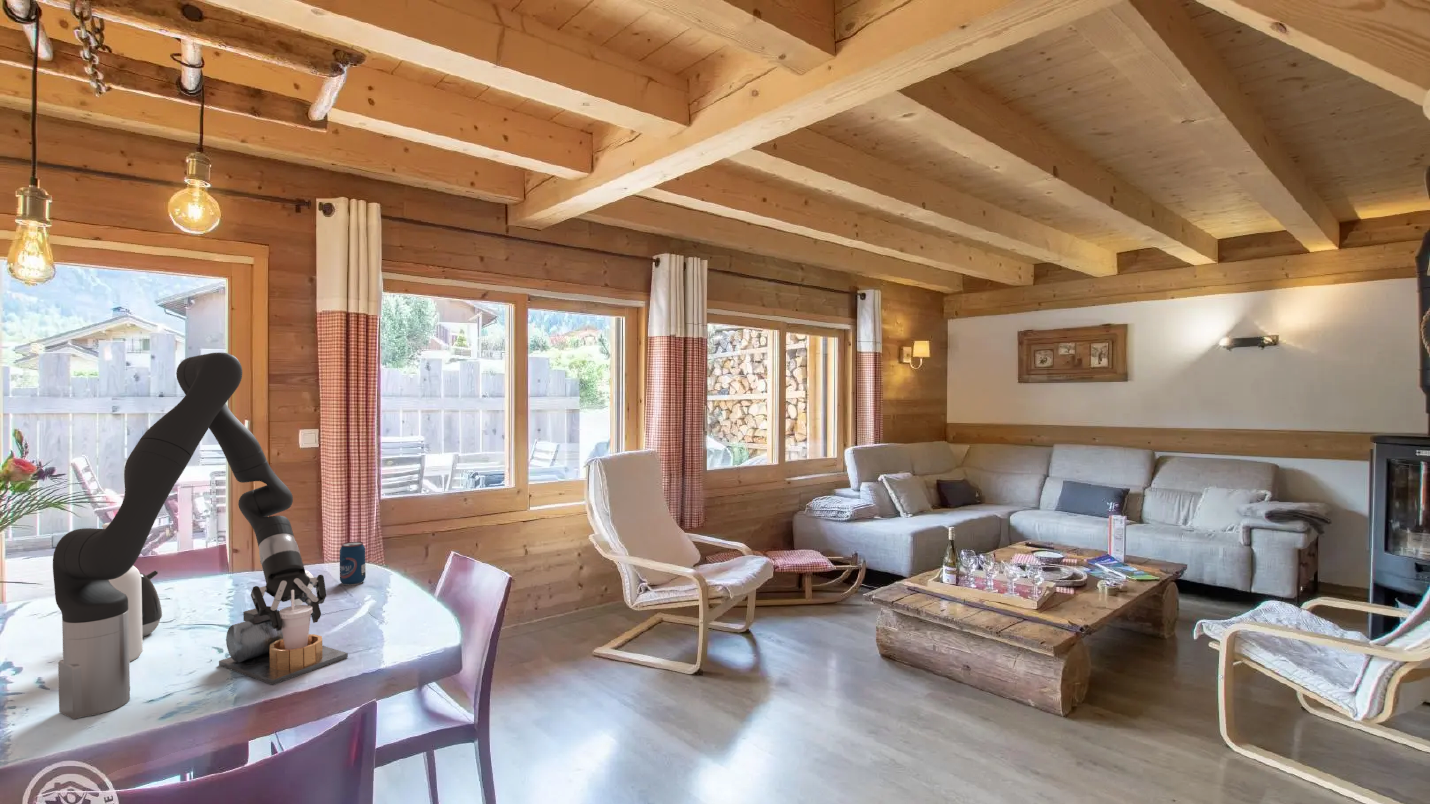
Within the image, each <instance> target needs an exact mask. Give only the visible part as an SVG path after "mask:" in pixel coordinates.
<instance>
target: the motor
mask: <svg viewBox="0 0 1430 804" xmlns="http://www.w3.org/2000/svg"><path fill="white" fill-rule="evenodd" d="M242 615H243V621H242V622H238V623H235V624H232V625H230V626H229V627H228V629H227V632H226V636H225V638H226V640H225V641H226V649H227V652H228V654H229V657H226V658H224V659H223V658H222V659H221V660H219V661H218V667H221V668H225V669H228V670H230V671H233V672H236V673H238V674H241V675H244V676H247V677H251V678H253V679H255V680H259V681H261V682H264V683H267V684H270V685H272V686H273V685H276V684H279V683H283V682H284V681H288V680H290V679H293V678H295V677H298V676H301V675H304V674H306V672H307V673H309V671H310V672H311V670H312V671H314V670H317V669H320V668H323V667H326V666H328V665H327V664H329V665H331V664H335V663H337V662H339V661H341V660H344V659H347V657H348V658H349V655H348V654H349V653H348V652H346V651H341V650H339V649H335V648H332V647H329V646H325V645H323V636H322V635H319V634H315V633H313V634H312V633H311V634H310V633H309V635H308V643H307V646H305V647H302V648H296V649H285V645H284V639H283V633H282V629H281V630H279V631H277V630H276V629H273V627H272V624H271V620H270V617H269V616H268V615H263V616H259V615H258V613H257V610H256V608H252V609H248V610H245V611H243V613H242ZM330 663H331V664H330ZM325 665H326V666H325Z"/></svg>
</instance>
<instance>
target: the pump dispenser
mask: <svg viewBox="0 0 1430 804" xmlns="http://www.w3.org/2000/svg"><path fill="white" fill-rule="evenodd" d="M158 574H159V572H158V571H157V570H154V571H152V572H150V573H148V574H145V573H142V572H140V575H141V582H142V638H144V637H146V636H148V635H150V634H151V633H153V632H154V631H155V630H156V629H157V627H158V626H159V623H160V621H161V619H162V617H163V612H162V605H161V601H160V597H159V595H158V591H157V590H156V588H155V585H154V583H153V582H152V580H151V579H153V578H154V577H156V576H157V575H158Z"/></svg>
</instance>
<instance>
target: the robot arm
mask: <svg viewBox="0 0 1430 804" xmlns="http://www.w3.org/2000/svg"><path fill="white" fill-rule="evenodd" d="M175 375H176V380H177V383H178V385H179V387H180V389H181V390H182V392H183V394H185V395H184V396H183V398H182V399H181V400H180V401H179V402H178V403H177V404H176V405H175V406H174V407H173V408H172V409H170V410H169V411H168V412H167V413H165V414H164V415H163V416H162V417H160V418H159V419H158V420H157V421H156V422H155V423H154V424H152V425H151V426H150V427H149V428H148V429H147V430H146V431H145V432H144V434H143V435H142V436H141V438H139V440H138V441H137V443H136V444H135V447H134V448H133V449H132V450H131V452H130V455H129V456H128V457H127V459H126V460H125V461H126V462H125V465H124V470H123V472H124V473H123V478H124V479H123V481H124V482H123V483H124V496H123V500H122V503H121V505H120V507H119V509H118V510H117V512H116V514H115V515H114V517H113V518H112V520H111V521H110V522H111V523H110V524H109V525H108V527H107V528H106V529H103V528H94V527H93V528H92V527H87V528H86V527H85V528H84V527H83V528H77V529H74V530H71V531H68V532H67V533H65V534H64V535H63V536H62V537H61V538H60V540H59V541H58V542H57V544H56V546H55V548H54V552H53V554H52V555H53V556H52V575H53V586H54V587H53V588H54V596H55V597H54V598H55V602H56V605H57V607H58V609H59V611H60V612H61V620H62V621H61V622H62V623H61V624H62V627H61V628H62V659H60V660H59V661H58V663H57V664H58V665H57V667H58V671H57V673H58V674H57V675H58V710H59V713H60V714H62V715H64V716H66V717H69V718H70V719H71V720H76V719H79V718H83V717H89V716H95V715H99V714H102V713H107V712H110V711H113V710H115V709H118V708H120V707H122V706H124V705H126V704H127V703H128V702H129V701H130V699H131V694H130V693H131V683H130V682H131V681H130V679H131V677H130V662H129V617H128V598H127V596H126V595H125V594H124V593H122V592H120V591H119V590H117V589H116V588H114V587H113V586H112V585H111V583H110V582H109V580H111V579H116V578H118V577H120V576H122V575H124V574H125V573H126V572H127V571H128V570H129V569H130V568H131V567H132V566H134V565H135V563H136V562H137V560H138V558H139V556H140V554H141V552H142V550H143V548H144V546H145V544H146V542H147V540H148V537H149V535H150V533H151V530H152V528H153V526H154V523H156V519H157V518H158V515H159V513H160V511H161V509H163V506H164V505H165V503H166V501H167V499H168V497H169V496H170V494H171V492H172V490H173V488H174V487H175V485H176V483H177V482H178V480H179V479H180V477H181V476H182V474H183V473H184V471H185V469H186V467H187V466H188V464H189V462H190V461H191V459H192V458H193V455H194V453H195V451H196V449H197V448H198V446H199V445H200V443H201V442H202V440H203V438H204V437H205V435H206V433H207V431H208V430H210V432H211V433H212V435H213V437H214V438H215V440H216V442H218V443H217V444H218V445H219V447H220V448H221V450H222V452H223V455H224V457H225V460H226V461H227V463H228V465H229V467H230V470H231V471H232V474H233V476H234V478H235V480H236V481H237V482H238V483H244V484H245V483H251V482H253V483H254V482H260V483H261V482H262V483H264V484H265V485H264V486H263V485H262V486H260V487H257V488H254V489H251V490H248V491H246V492H243V494H241V495H240V497H239V499H238V502H237V503H238V510H240V512H241V514H242V515H243V516H244V518H245V519H246V520H247V522H248V523H249V525H250V526H251V528H252V530H253V532H254V534H255V538H256V543H257V547H258V551H259V552H258V554H259V559H260V560H259V562H260V565H261V568H262V572H263V576H264V580H265V585H264V586H261V587H260V586H257V585H255V586H253V587H252V589H251V593H250V597H251V599H252V600H251V601H252V602H253V605H254V607H255V608H256V610H257V613H258V615H259V616H263V615H268V616H269V617H270V620H271V624H272V627H273V629H276V630H277V631H279V630H281V629H282V621H281V617H280V613H279V611H280V610H278V607H279V605H280V602H282V603H285V602H288V601H290V600H291V590H294V600H295V599H300V600H301V601H302V602H303V603H305V605H310V606H312V608H313V612H312V613H311V620H312V623H313V624H314V623H318V621H319V620H320V619H321V616H322V612H321V608H320V605H322V604H324V602H325V601H326V598H327V590H326V583H325V577H324V575H323V574H318V575H317V576H316V577H314V576H313V577H314V578H309V577H308V576H307V575H306V573H305V565H304V563H303V558H302V555H301V552H300V548H299V546H298V542H297V541H296V538H295V535H294V532H293V527H292V525H291V521H290V520H289V518H288V517H286V516H284V515H275V514H278V513H282V512H284V511H286V510H288V509H290V508H291V507H292V504H293V503H294V498H293V493H292V491H291V490H290V489H289V487H288V486H287V485H286V484H285V483H284V482H283V481H282V480H281V479H280V478H279V476H278V475H277V474H276V472H275V471H274V470H273V468H272V467H271V466H270V464H269V462H268V460H267V458H266V455H265V453H264V451H263V449H262V447H261V444H260V443H259V441H258V439H257V438H256V437H255V435H254V434H253V433H252V431H251V430H250V429H248V428H247V427H246V426H245V425H244V424H243V423H242V422H241V421H240V420H239V419H238V418H237V417H236V416H235V415H234V413H233V412H232V411H231V409H230V408H229V406H228V405H227V403H228V401H229V400H230V398H231V397H232V395H233V394H234V393H235V392H236V390H237V389H238V387H239V386H240V384H241V381H242V379H243V367H242V364H241V362H240V361H239V359H238V358H237V357H236V356H235V355H233V354H230V353H228V352H210V353H204V354H198V355H195V356H190V357H186V358H185V359H183V360H182V361H180V363H179V364H178V366H177V368H176V374H175ZM309 584H312V586H313V588H314V589H315V591H316V595H315V594H313V591H312V590H310V589H309V588H308V587H307V586H308V585H309ZM265 593H267V594H268V595H269V596H271V597H273V600H272V604H271V605H270V606H269V605H268V606H267V603H266V601H265V599H264V596H265ZM255 608H254V609H255Z"/></svg>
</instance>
